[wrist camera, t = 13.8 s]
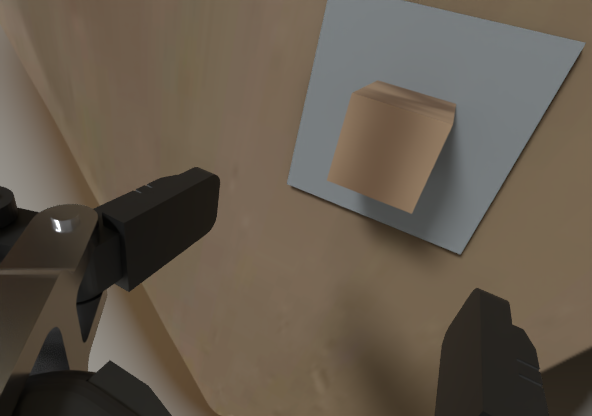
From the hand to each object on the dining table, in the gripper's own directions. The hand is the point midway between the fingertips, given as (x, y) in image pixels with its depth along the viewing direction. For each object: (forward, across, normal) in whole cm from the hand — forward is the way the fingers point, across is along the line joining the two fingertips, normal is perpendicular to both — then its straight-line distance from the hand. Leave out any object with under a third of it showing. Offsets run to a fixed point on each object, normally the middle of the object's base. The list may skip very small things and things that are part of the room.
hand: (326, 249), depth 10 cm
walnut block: (+15, 0, 0) cm, 15 cm away
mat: (+16, 0, 0) cm, 16 cm away
